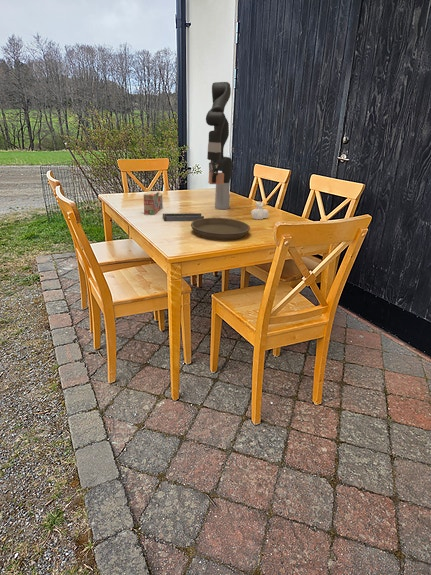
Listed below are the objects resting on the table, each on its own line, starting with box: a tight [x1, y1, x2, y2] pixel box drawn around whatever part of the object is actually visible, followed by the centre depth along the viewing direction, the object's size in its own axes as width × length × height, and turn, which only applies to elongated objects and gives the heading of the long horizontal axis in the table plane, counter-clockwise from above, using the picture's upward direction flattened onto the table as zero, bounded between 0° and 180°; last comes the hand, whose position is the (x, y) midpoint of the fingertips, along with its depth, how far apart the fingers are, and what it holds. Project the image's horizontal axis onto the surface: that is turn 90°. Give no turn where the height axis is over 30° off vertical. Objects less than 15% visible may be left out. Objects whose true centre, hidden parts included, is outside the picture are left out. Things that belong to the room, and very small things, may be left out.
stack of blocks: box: [143, 190, 164, 216], centre depth 229 cm, size 21×6×12 cm, turn 173°
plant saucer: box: [190, 217, 251, 241], centre depth 192 cm, size 31×31×5 cm
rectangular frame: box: [162, 212, 205, 222], centre depth 215 cm, size 23×8×2 cm, turn 104°
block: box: [208, 171, 224, 185], centre depth 213 cm, size 8×4×6 cm, turn 104°
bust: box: [250, 200, 270, 220], centre depth 226 cm, size 12×8×11 cm
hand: (212, 182), depth 213 cm, fingers closed on block, 4 cm apart
